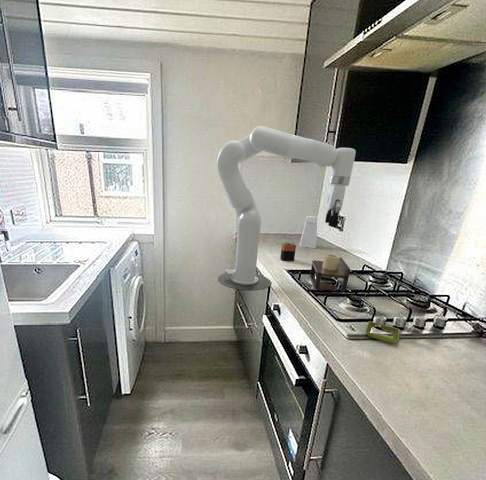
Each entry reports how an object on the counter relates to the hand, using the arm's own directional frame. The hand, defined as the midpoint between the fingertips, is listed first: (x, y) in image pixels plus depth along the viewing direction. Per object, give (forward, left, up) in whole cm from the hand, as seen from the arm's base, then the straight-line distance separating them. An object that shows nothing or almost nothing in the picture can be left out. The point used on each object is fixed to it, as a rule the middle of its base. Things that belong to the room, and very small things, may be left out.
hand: (330, 224), depth 125 cm
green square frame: (+13, -43, -27) cm, 52 cm away
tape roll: (+3, -1, -19) cm, 19 cm away
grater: (+2, +79, -27) cm, 84 cm away
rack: (+3, 0, -27) cm, 27 cm away
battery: (-13, +36, -27) cm, 47 cm away
